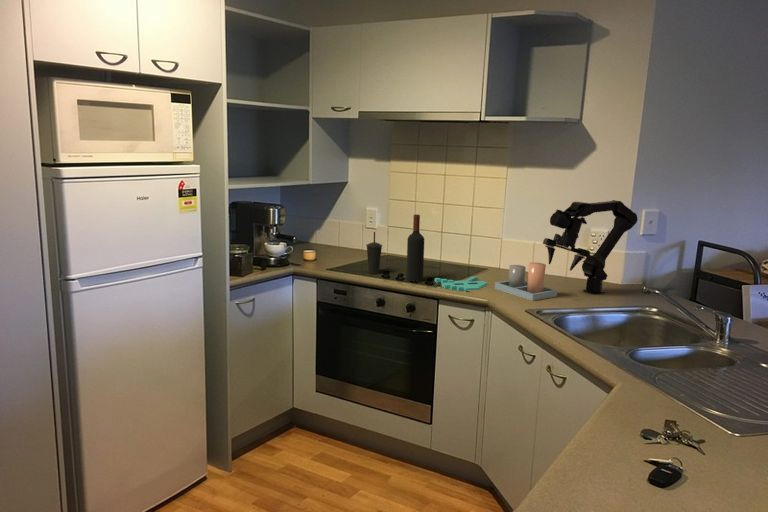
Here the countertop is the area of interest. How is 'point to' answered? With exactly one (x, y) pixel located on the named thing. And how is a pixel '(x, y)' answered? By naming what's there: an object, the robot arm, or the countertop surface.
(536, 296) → the cup rack
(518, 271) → the grey cylinder
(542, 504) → the countertop surface
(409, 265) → the wine bottle
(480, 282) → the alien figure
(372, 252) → the drinking cup
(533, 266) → the peach round cylinder
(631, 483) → the countertop surface
